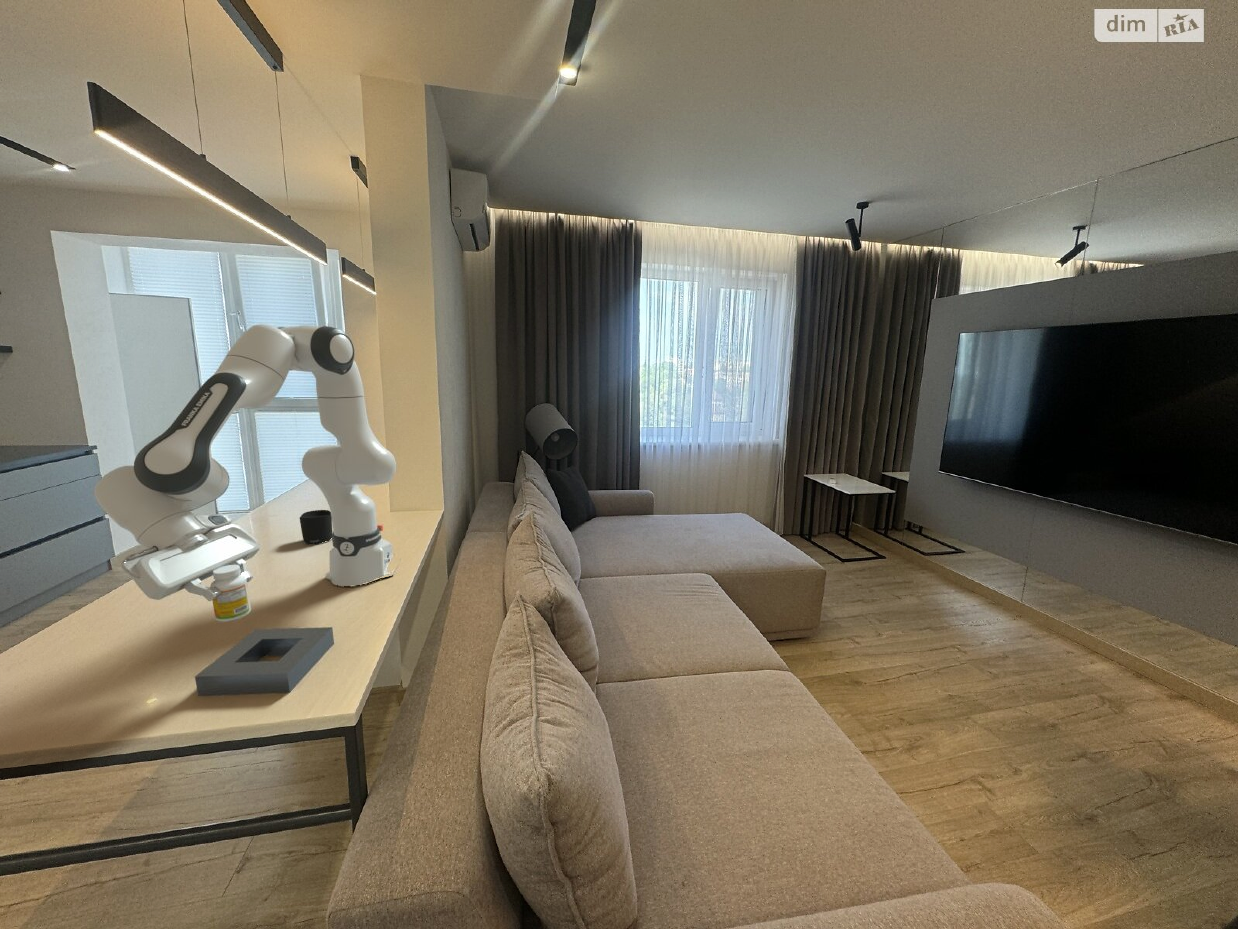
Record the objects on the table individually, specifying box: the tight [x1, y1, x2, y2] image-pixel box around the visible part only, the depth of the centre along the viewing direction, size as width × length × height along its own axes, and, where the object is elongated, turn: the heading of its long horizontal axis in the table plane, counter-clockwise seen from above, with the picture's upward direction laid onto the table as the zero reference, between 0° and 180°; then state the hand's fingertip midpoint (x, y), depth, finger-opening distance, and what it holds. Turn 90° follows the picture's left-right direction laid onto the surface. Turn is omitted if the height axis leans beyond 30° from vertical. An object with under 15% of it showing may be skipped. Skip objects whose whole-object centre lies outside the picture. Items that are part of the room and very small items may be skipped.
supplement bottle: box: [209, 565, 252, 622], centre depth 89 cm, size 5×5×10 cm
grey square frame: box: [194, 626, 335, 697], centre depth 93 cm, size 16×16×4 cm
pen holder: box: [299, 509, 333, 545], centre depth 162 cm, size 9×9×10 cm
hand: (232, 589), depth 89 cm, fingers closed on supplement bottle, 5 cm apart
